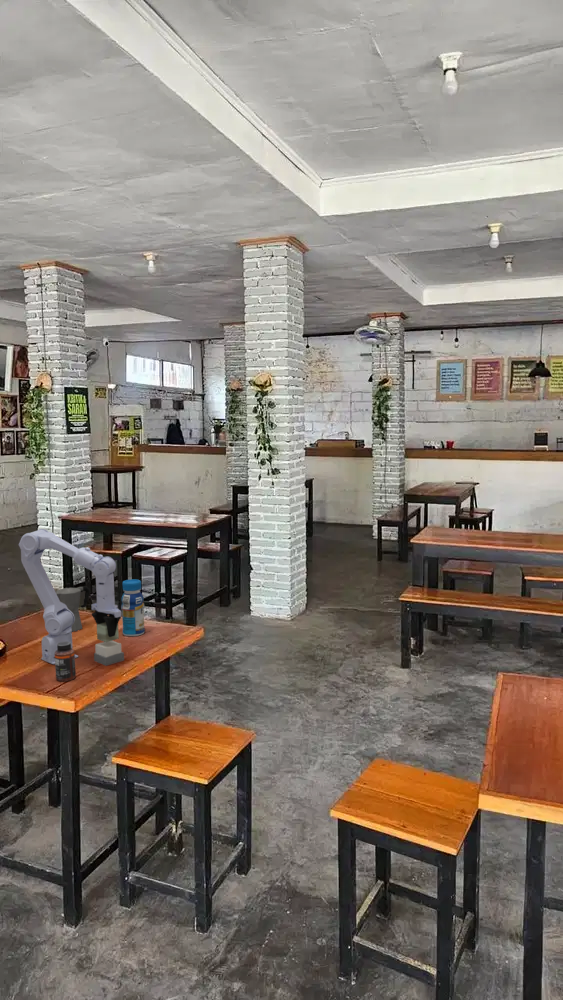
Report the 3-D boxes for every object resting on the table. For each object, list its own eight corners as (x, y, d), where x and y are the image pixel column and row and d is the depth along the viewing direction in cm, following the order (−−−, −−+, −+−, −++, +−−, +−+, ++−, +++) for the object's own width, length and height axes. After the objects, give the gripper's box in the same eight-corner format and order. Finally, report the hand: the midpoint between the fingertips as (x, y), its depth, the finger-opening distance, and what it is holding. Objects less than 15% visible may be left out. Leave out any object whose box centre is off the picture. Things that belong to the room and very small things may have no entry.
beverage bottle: (120, 631, 265) (118, 579, 263) (142, 628, 269) (140, 577, 266) (124, 638, 258) (122, 584, 255) (147, 635, 261) (145, 582, 259)
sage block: (105, 642, 230) (105, 627, 230) (97, 639, 234) (96, 624, 233) (118, 638, 234) (118, 624, 233) (110, 635, 237) (109, 621, 237)
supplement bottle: (73, 673, 223) (71, 639, 221) (77, 679, 217) (76, 644, 216) (54, 677, 220) (52, 642, 218) (57, 683, 215) (56, 647, 213)
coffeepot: (59, 635, 262) (57, 588, 260) (48, 630, 269) (46, 584, 267) (97, 626, 272) (95, 581, 270) (85, 621, 279) (83, 577, 277)
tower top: (106, 657, 230) (105, 648, 230) (95, 653, 234) (95, 644, 234) (121, 652, 234) (121, 643, 234) (111, 648, 238) (110, 640, 238)
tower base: (105, 666, 229) (105, 658, 229) (94, 661, 234) (93, 653, 234) (124, 661, 234) (123, 652, 234) (112, 656, 239) (112, 648, 239)
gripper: (128, 595, 230) (130, 636, 231) (103, 588, 240) (105, 627, 241) (110, 599, 225) (111, 641, 226) (85, 592, 234) (87, 632, 236)
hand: (107, 634), depth 233 cm, fingers closed on sage block, 5 cm apart
